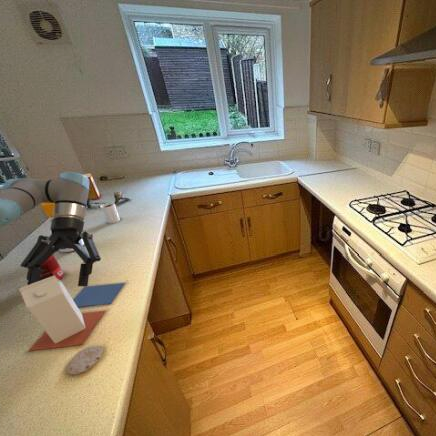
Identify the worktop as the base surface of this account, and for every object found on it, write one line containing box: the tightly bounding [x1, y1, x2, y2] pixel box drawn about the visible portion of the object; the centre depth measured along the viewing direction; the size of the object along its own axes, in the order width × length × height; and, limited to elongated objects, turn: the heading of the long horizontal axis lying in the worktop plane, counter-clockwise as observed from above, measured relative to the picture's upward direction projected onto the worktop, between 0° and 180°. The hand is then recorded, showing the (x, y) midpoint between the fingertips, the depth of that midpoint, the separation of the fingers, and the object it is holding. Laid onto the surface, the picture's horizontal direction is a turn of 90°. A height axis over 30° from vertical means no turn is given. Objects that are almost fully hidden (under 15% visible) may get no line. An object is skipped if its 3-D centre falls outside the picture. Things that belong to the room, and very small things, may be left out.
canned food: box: [39, 254, 65, 281], centre depth 91 cm, size 8×8×11 cm
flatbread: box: [65, 345, 104, 376], centre depth 64 cm, size 8×8×1 cm
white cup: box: [99, 202, 121, 224], centre depth 133 cm, size 7×7×10 cm
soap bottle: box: [40, 203, 85, 253], centre depth 107 cm, size 9×9×25 cm
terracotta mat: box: [28, 310, 106, 352], centre depth 73 cm, size 14×12×1 cm
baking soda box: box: [83, 173, 101, 201], centre depth 163 cm, size 10×6×16 cm
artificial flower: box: [86, 190, 130, 209], centre depth 155 cm, size 9×22×10 cm, turn 114°
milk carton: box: [18, 275, 85, 344], centre depth 68 cm, size 7×7×19 cm
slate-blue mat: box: [73, 282, 126, 309], centre depth 85 cm, size 14×10×1 cm
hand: (57, 289), depth 70 cm, fingers open, 13 cm apart
